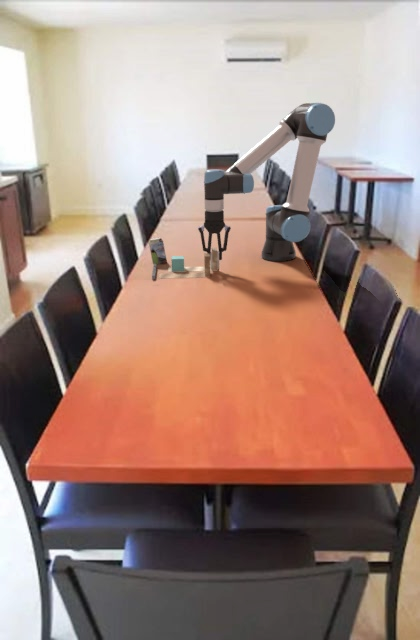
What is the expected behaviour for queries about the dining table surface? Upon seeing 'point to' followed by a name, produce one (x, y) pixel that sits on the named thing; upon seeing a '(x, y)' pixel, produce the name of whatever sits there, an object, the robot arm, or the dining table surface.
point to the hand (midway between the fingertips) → (214, 267)
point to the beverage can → (157, 251)
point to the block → (177, 263)
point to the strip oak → (191, 275)
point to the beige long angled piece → (202, 268)
